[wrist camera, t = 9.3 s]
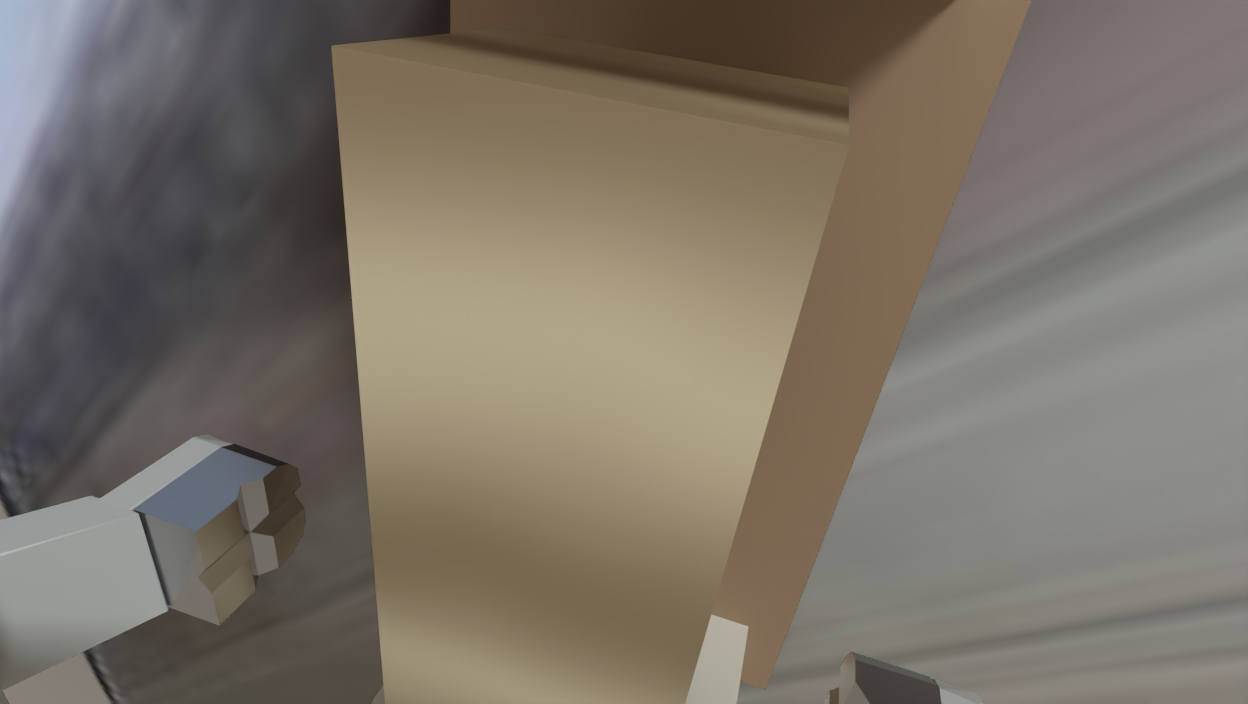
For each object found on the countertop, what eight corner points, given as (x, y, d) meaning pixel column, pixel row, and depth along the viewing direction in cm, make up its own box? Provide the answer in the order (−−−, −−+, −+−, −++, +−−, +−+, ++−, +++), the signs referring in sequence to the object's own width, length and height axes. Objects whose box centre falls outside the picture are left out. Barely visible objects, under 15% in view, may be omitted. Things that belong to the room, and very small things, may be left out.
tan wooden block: (507, 27, 10) (331, 45, 7) (848, 88, 9) (849, 145, 6) (484, 610, 16) (390, 770, 13) (681, 679, 16) (636, 871, 12)
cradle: (768, 660, 20) (728, 998, 13) (465, 558, 22) (296, 811, 15) (1081, -168, 10) (1543, -484, 3) (478, -230, 12) (1, -514, 5)
